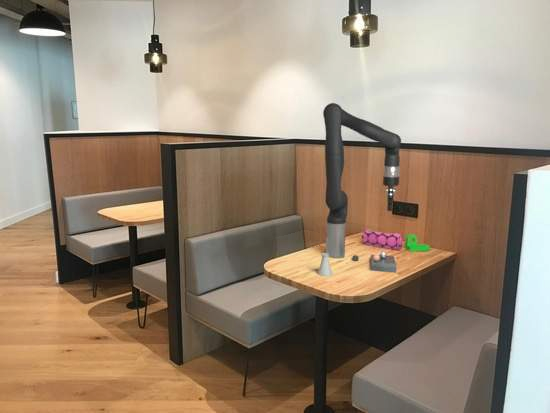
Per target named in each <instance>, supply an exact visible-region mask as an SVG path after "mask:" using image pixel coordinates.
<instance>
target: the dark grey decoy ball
mask: <svg viewBox="0 0 550 413" xmlns="http://www.w3.org/2000/svg"><path fill="white" fill-rule="evenodd" d="M359 259H360V258H359V255H357V254H354V255H352V257H351V260H352V261H353V262H358V261H359Z"/></svg>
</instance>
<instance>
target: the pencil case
mask: <svg viewBox="0 0 550 413" xmlns="http://www.w3.org/2000/svg"><path fill="white" fill-rule="evenodd" d="M361 239H362V242H363V244H364V245H365V246H371V247H372V246H373V247H376V248H383V249H387V250H394V251H395V250H396V251H400V250H402V248H403V238H402V235H401V233H398V232H394V233H390V232H382V231H376V230H375V231H374V230H371V229H370V228H367V227H365V228H364V233H363V235H361Z"/></svg>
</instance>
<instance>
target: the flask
mask: <svg viewBox="0 0 550 413" xmlns="http://www.w3.org/2000/svg"><path fill="white" fill-rule="evenodd" d="M328 255H329V254H328V253H326V252H323V253H321V262H320V265H319V267H318V271H317V272H316V274H317V275H318V276H321V277H330V276H333V270H332V268H331V265H330V261H329V257H328Z"/></svg>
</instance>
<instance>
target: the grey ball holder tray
mask: <svg viewBox="0 0 550 413" xmlns="http://www.w3.org/2000/svg"><path fill="white" fill-rule="evenodd" d="M374 255H375V254H370V270H371V271H372V272H381V273H382V272H383V273H397V267H398V266H397V263H396V261H395V256H394V255H386V257H385V258H382V257H381V256H380V254H378V255H379V257H380V260H379V261H374V260H373V256H374Z"/></svg>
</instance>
